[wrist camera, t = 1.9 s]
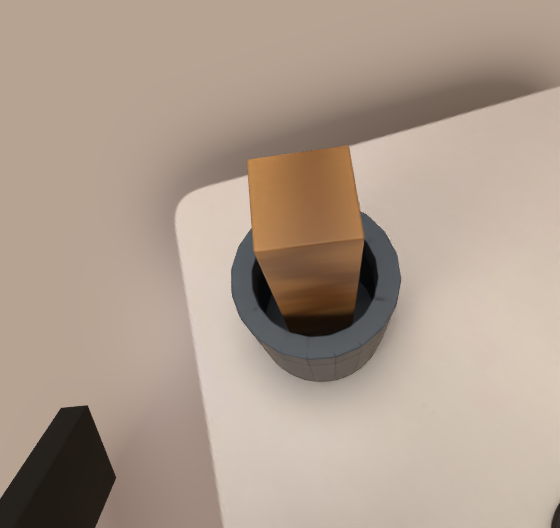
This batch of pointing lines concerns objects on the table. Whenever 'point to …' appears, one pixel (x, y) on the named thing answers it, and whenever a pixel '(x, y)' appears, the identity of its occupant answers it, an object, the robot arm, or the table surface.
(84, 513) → the robot arm
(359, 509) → the table surface
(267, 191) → the wooden block
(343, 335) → the jar
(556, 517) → the coaster
